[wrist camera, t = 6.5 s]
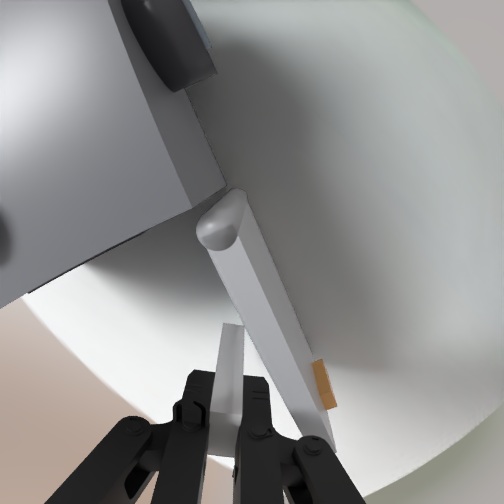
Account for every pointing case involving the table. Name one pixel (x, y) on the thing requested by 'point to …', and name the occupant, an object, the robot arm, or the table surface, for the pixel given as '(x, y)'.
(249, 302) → the side door
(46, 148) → the camera body
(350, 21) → the table surface
